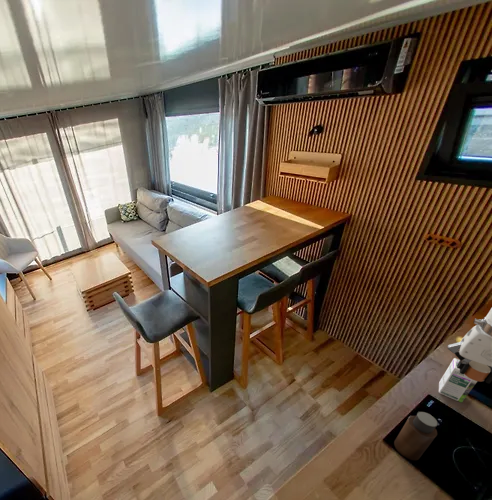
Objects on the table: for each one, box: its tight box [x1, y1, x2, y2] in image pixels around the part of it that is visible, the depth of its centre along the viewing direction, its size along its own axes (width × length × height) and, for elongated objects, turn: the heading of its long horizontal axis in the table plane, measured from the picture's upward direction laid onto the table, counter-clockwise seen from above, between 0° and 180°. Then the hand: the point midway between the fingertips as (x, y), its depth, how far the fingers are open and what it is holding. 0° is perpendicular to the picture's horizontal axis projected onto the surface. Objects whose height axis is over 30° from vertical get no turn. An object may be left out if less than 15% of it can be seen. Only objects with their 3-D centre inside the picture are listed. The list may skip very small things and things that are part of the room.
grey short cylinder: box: [413, 411, 438, 434], centre depth 74 cm, size 4×4×4 cm
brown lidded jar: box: [393, 415, 438, 461], centre depth 79 cm, size 6×6×14 cm
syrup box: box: [438, 357, 478, 403], centre depth 91 cm, size 6×6×14 cm
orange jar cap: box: [464, 361, 491, 382], centre depth 73 cm, size 4×4×4 cm
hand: (473, 374), depth 74 cm, fingers closed on orange jar cap, 4 cm apart
